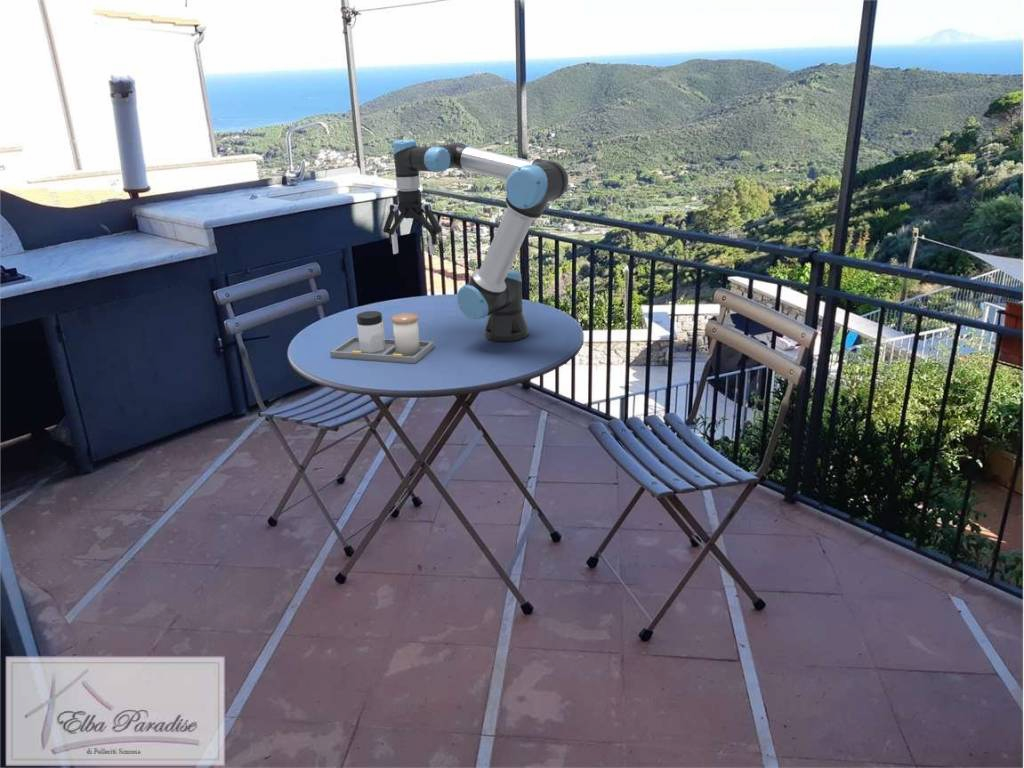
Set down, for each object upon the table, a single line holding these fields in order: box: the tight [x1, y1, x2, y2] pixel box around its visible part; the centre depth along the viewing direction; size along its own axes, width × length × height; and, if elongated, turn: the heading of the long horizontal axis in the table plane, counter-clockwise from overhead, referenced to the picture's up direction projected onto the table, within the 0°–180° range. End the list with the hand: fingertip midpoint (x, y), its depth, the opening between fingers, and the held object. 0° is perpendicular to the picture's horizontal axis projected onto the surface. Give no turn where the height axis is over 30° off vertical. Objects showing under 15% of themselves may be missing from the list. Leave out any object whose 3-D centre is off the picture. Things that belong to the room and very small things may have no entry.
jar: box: [356, 310, 386, 353], centre depth 246 cm, size 9×8×12 cm
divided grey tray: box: [329, 336, 435, 365], centre depth 246 cm, size 30×16×3 cm, turn 73°
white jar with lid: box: [391, 312, 420, 356], centre depth 242 cm, size 8×8×12 cm
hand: (414, 253), depth 252 cm, fingers open, 13 cm apart
